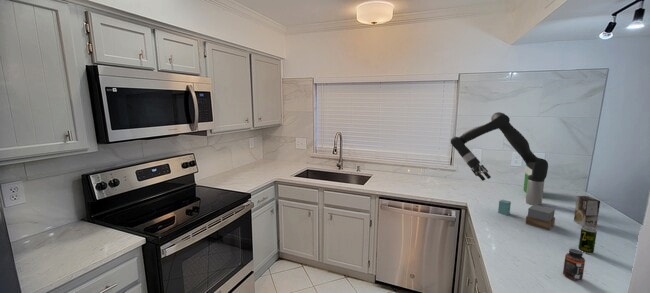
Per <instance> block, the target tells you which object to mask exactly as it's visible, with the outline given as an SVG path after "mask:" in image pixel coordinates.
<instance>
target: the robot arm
mask: <svg viewBox="0 0 650 293" xmlns="http://www.w3.org/2000/svg"><path fill="white" fill-rule="evenodd" d="M510 119H511V118H510V117H509V115H507V114H505V112H504V113H503V112H501V111H500V112H495V113H493V114H492V116H491V118H490V120H491V121H489V122H487V123H485V124H483V125H480V126H479V125H478V126H476V127H473V128H470V129H469V130H467V131H465V132H463V133H462V135H459V136H453V137H452V138H451V139H450V144H451V146H452V147H453V148H454V149H455V150H456V151H457V152H458V154H459V155H460V157H461V158H462V160H463V161H464V162H465V163H466V165H467V166H468V167H469V168H470V170H471V172H472V173H473V174H474V175H475V177H478V178H480V180H481V181H482V182H484V181H485V180H486V178H487V179H488V180H489V179H491V178H492V176H491V175H490V174H489V173H488V172H489V170H488V169H487V168H486V167H485V166H484V165H483V164H481V161H480V160H479V159H478V157H477V156H475V154H474V153H473V152H472V151H471V150H470V149H469V147H467V146H466V144H467V143H468V142H470V141H473V140H474V139H476V138H478V137H480V136H483V135H485V134H487V133H491V132H492V131H495V130H499V131H501V133H502V134H503V135H504V137H505V139H506V140H507V141H508V143H509V144H510V146H511V147H513V149H514V150H515V151H516V152H517V153H518V155H519V156H520V157H521V158H522V160H523V161H524V162H525V165H526V164H527V166H528V167H529V168H530V169H532V170H533V174H532V175H529V176H528V184H527V193H525V194H526V195H525V203H526V204H528V205H531V206H533V205H538V206H542V205H543V204H542V203H543V197H544V189H545V180H546V178H547V174H548V171H549V170H548V169H549V163H548V161H547V160H546V159H544V158H540V157H538V156H536V155H535V154H534V153H533V152H532V150H531V149H530V148H531V147H530V143H529V141H528V140H527V139H526V137H525V136H524V135H523V134H522V133H521V132H520V131H519V130H518V129H517V128H515V127H514V126H513V125H512V124H511V122H510ZM485 177H486V178H485Z"/></svg>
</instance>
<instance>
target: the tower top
mask: <svg viewBox="0 0 650 293" xmlns="http://www.w3.org/2000/svg"><path fill="white" fill-rule="evenodd" d="M555 213H556V212H555V209H554V208H550V207H546V206H542V205H539V206H538V205H531V206H530V207H528V210H527V215H528V217H532V218H536V219H539V220H543V221H547V222H549V221H551V220H552V219H553V218H554V217H555Z"/></svg>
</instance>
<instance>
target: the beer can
mask: <svg viewBox="0 0 650 293" xmlns="http://www.w3.org/2000/svg"><path fill="white" fill-rule="evenodd" d="M597 233H598V230H597V227H596V228H594V227H591V226H582V225H581V227H580V234H579V242H578V250H579V251H580V250H581V251H583V252H582V253H584V252H586V253H585V254H587V253H593V254H594V252H595V245H596V239H597Z"/></svg>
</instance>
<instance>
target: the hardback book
mask: <svg viewBox="0 0 650 293" xmlns="http://www.w3.org/2000/svg"><path fill="white" fill-rule="evenodd" d="M524 172H525V173H524V181H523V182H524V183H523V192H524V193H525V194H527V184H528V176H529V175H532V174H533V170H532V169H530V168H529V167H528V166H527V164H526V163H525V171H524Z"/></svg>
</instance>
